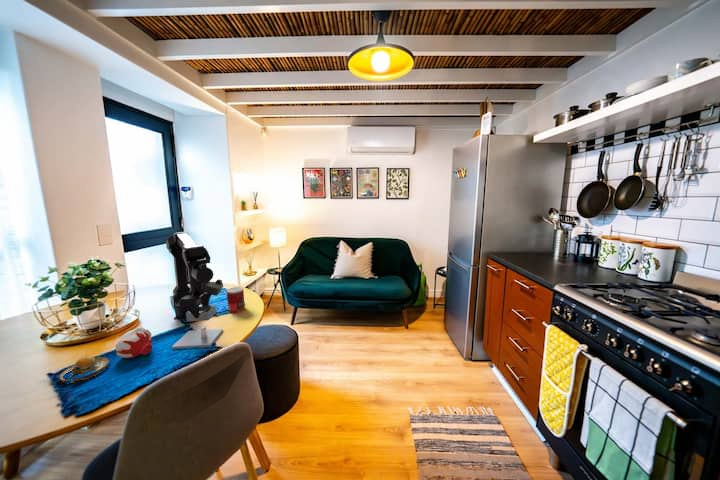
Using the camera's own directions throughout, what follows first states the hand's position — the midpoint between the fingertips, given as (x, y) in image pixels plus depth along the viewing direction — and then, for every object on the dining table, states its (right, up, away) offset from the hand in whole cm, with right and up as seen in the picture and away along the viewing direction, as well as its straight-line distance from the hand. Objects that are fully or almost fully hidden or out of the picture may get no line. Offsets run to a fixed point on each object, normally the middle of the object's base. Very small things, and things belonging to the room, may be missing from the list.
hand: (201, 313), depth 104 cm
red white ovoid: (-19, -13, -8) cm, 24 cm away
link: (0, -1, 0) cm, 1 cm away
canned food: (0, -6, +30) cm, 30 cm away
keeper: (-2, -11, +2) cm, 11 cm away
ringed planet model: (-28, -15, -18) cm, 36 cm away
